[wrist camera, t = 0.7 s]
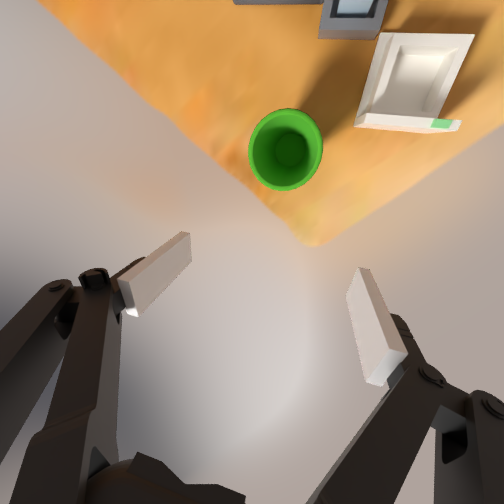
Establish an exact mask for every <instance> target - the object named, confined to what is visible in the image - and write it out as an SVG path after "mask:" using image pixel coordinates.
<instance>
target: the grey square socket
mask: <svg viewBox="0 0 504 504" xmlns="http://www.w3.org/2000/svg"><path fill="white" fill-rule="evenodd" d="M387 3H388V0H373V2H372V4H371V7H370V9H369V11H368V13H367V15H366V18H336V15H337V10H338V5H339V0H324V4H323V10H322V15H321V21H320V26H319V34H318V39H350V40H374V39H375V37H376V36H377V34H378V32H379V31H380V28H381V24H382V21H383V17H384V14H385V10H386V7H387Z"/></svg>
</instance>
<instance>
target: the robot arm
mask: <svg viewBox="0 0 504 504" xmlns="http://www.w3.org/2000/svg"><path fill="white" fill-rule="evenodd" d="M191 261H192V257H191V243H190V233H187V232H182V231H181V232H180V233H179V234H177V235H176V236H174V237H173V238H172V239H170V240H169V241H168V242H166V243H165V244H164V245H162V246H161V247H159V248H158V249H157V250H155V251H154V252H153V253H151V254H150V255H149V256H147V257H142V258H139V259H137V260H135V261H133V262H132V263H131V264H130V265H128V266H126V267H125V268H124V269H122V270H121V271H119V272H118V273H116V274H115V275H114V276H112V277H111V278H109V275H108V272H107V270H106V269H104V268H94V269H90V270H87V271H85V272H84V273H82V274H80V276H79V277H78V278H79V281H80V283H81V285H82V286H78V287H76V286H73V285H72V283H71V281H70V280H68V279H61V280H56V281H52V282H50V283H48V284H46V285H45V286H43V287H42V288H41V289H40V290H39V291H38V292H37V293H36V294H35V295H34V296H33V297H32V298H31V300H29V301H28V303H27V304H26V305H25V306H24V307H23V308H22V309H21V310H20V311H19V312H18V313H17V314H16V315H15V316H14V317H13V318H12V319H11V320H10V321H9V322H8V323H7V324H6V325H5V326H4V327H3V329H2V330H1V331H0V464H1V462H2V460H3V459H4V457H5V455H6V454H7V452H8V450H9V448H10V447H11V445H12V443H13V442H14V440H15V438H16V437H17V435H18V433H19V431H20V430H21V428H22V426H23V425H24V423H25V421H26V419H27V418H28V416H29V414H30V413H31V411H32V409H33V407H34V406H35V404H36V402H37V401H38V399H39V397H40V395H41V394H42V392H43V390H44V389H45V387H46V385H47V384H48V382H49V380H50V378H51V377H52V375H53V373H54V372H55V370H56V368H57V366H58V365H59V363H60V361H61V359H62V358H63V356H64V359H63V362H62V366H61V370H60V373H59V376H58V380H57V383H56V387H55V391H54V394H53V398H52V401H51V405H50V408H49V412H48V415H47V419H46V422H45V425H44V427H43V429H42V430H41V431H39V432H37V433H36V434H34V436H33V437H32V438H31V440H30V442H29V445H28V447H27V449H26V453H25V456H24V459H23V462H22V465H21V468H20V472H19V475H18V478H17V481H16V484H15V488H14V490H13V493H12V497H11V500H10V503H9V504H245V498H246V496H245V495H243V494H240V493H238V492H235V491H233V490H230V489H228V488H225V487H223V486H220V485H218V484H185V483H183V482H182V481H181V480H180V479H179V478H178V477H177V476H176V475H175V474H174V473H173V472H172V471H171V470H170V469H169V468H168V467H167V466H166V465H165V464H164V463H163V462H162V461H159V460H157V459H154V458H152V457H149V456H147V455H144V454H142V453H139V452H137V453H136V455H135V457H134V459H129V460H124V461H120V462H119V459H118V448H117V442H116V428H117V407H118V387H119V366H120V346H121V326H122V314H121V311H122V310H123V309H124V308H125V307H126V310H127V313H128V314H129V315H133V316H136V317H139V316H140V315H141V314H142V313H143V312H144V311H145V310H146V309H147V308H148V307H149V306H150V305H151V304H152V302H153V301H154V300H155V299H156V298H157V297H158V296H159V295H160V294H161V293H162V292H163V291H164V290H165V289H166V288H167V287H168V285H170V283H171V282H172V281H173V280H174V279H175V278H176V277H177V276H178V275H179V274H180V273H181V272H182V271H183V270H184V269H185V267H187V266H188V265H189V263H190V262H191ZM346 300H347V304H348V308H349V313H350V317H351V321H352V325H353V330H354V334H355V339H356V343H357V347H358V352H359V356H360V360H361V364H362V369H363V373H364V378H365V382H367V383H370V384H374V385H378V386H381V387H382V386H383V384H384V383H385V382H386V381H387V382H388V385H389V388H390V389H389V390H388V391H387V393H386V394H385V395H384V396H383V397H382V399H381V401H380V402H379V404H378V405H377V406H376V408H375V409H374V411H373V412H372V413H371V415H370V416H369V417H368V419H367V420H366V421H365V423H364V424H363V426H362V427H361V428H360V430H359V431H358V432H357V434H356V435H355V436H354V438H353V439H352V441H351V442H350V444H349V445H348V446H347V448H346V449H345V450H344V452H343V453H342V454H341V456H340V457H339V459H338V460H337V461H336V462H335V464H334V465H333V467H332V468H331V469H330V471H329V472H328V473H327V475H326V476H325V478H324V479H323V480H322V482H321V483H320V484H319V486H318V487H317V488H316V490H315V491H314V493H313V494H312V495H311V497H310V498H309V499H308V501H307V502H306V504H394V502H395V500H396V498H397V495H398V493H399V491H400V489H401V487H402V485H403V483H404V481H405V479H406V476H407V474H408V472H409V470H410V468H411V466H412V464H413V462H414V460H415V457H416V455H417V453H418V451H419V449H420V447H421V445H422V443H423V440H424V438H425V436H426V434H427V432H428V430H429V428H430V426H431V427H433V428H434V429H436V437H435V438H436V439H435V477H434V478H435V479H434V504H504V403H503V402H502V401H501V400H499V399H498V398H496V397H495V396H493V395H492V394H489V393H487V392H485V391H481V390H475V391H473V392H472V393H470V394H468V393H466V392H464V391H462V390H460V389H458V388H456V387H454V386H452V385H450V384H449V383H447V382H446V379H445V378H444V377H443V375H442V374H441V373H440V372H439V371H438V370H437V369H435V368H434V367H433V366H431V365H429V364H428V363H427V362H426V361H425V359H424V357H423V355H422V353H421V351H420V349H419V347H418V345H417V343H416V341H415V340H414V339H413V336H412V334H411V333H410V330H409V328H408V326H407V324H406V323H405V321H404V320H402V318H401V317H400V316H399V315H395V314H391V313H389V311H388V309H387V306H386V304H385V302H384V300H383V297H382V295H381V293H380V291H379V289H378V287H377V284H376V282H375V280H374V278H373V276H372V274H371V272H370V269H365V268H360V267H358V269H357V271H356V273H355V276H354V278H353V280H352V283H351V285H350V287H349V289H348V292H347V294H346ZM64 354H65V355H64Z"/></svg>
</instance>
